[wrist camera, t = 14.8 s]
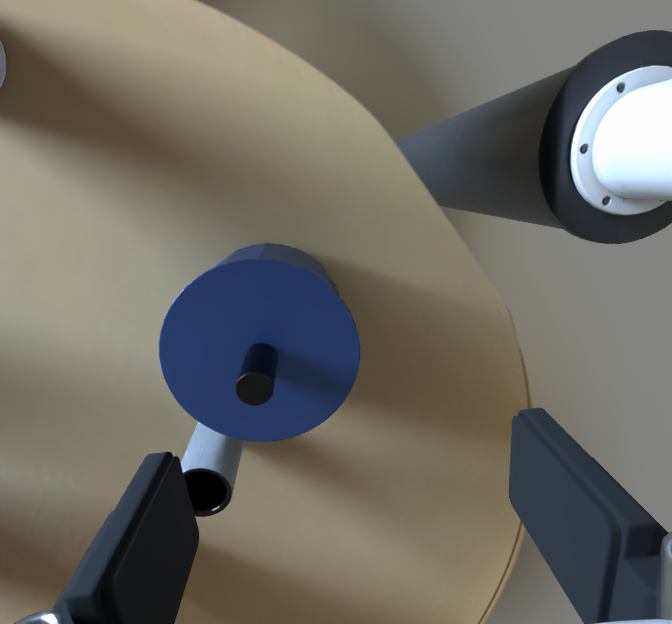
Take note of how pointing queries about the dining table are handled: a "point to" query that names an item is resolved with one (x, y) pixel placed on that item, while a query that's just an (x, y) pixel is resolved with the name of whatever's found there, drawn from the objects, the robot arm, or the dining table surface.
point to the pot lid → (259, 349)
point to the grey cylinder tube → (210, 469)
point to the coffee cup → (2, 64)
